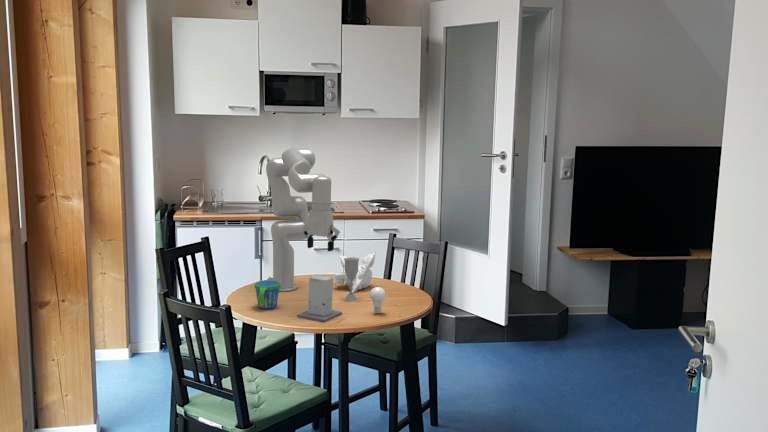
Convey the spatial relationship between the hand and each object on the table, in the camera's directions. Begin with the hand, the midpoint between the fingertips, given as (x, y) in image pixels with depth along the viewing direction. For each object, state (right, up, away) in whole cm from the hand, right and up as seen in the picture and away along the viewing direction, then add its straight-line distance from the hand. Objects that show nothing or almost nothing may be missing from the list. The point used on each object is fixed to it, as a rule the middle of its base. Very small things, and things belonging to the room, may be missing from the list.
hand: (320, 249), depth 267 cm
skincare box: (0, -26, -4) cm, 26 cm away
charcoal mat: (0, -26, -3) cm, 27 cm away
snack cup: (-23, -25, +7) cm, 34 cm away
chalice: (+11, -23, +22) cm, 34 cm away
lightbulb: (+23, -26, +2) cm, 35 cm away
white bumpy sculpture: (+12, -21, +43) cm, 49 cm away
